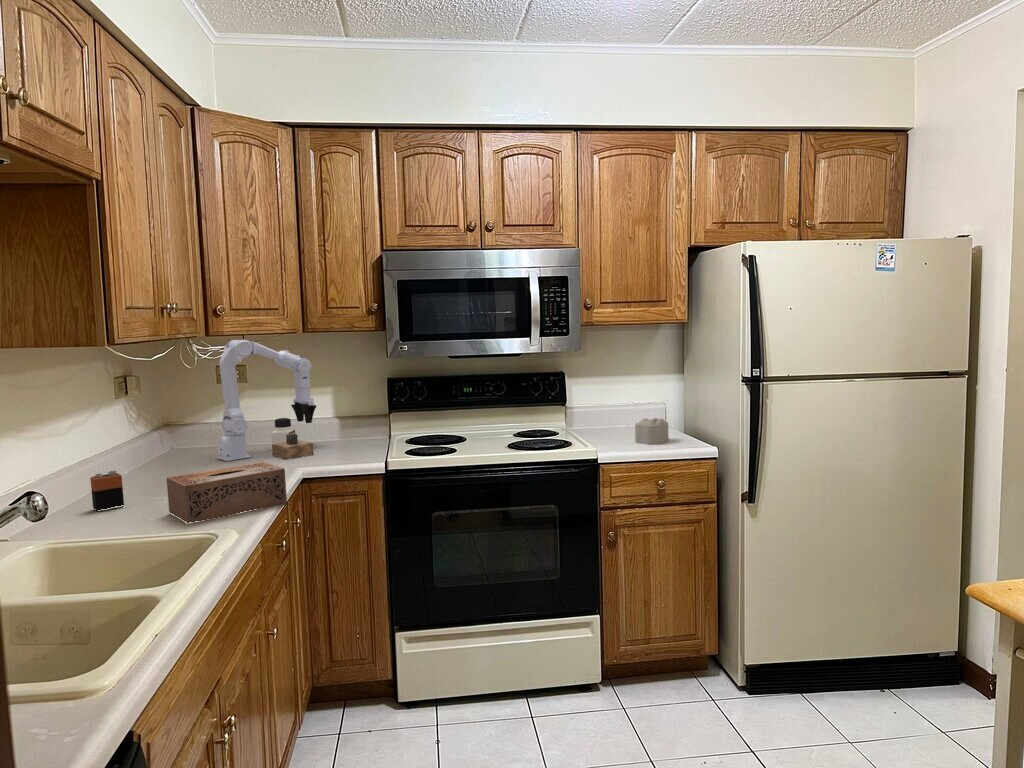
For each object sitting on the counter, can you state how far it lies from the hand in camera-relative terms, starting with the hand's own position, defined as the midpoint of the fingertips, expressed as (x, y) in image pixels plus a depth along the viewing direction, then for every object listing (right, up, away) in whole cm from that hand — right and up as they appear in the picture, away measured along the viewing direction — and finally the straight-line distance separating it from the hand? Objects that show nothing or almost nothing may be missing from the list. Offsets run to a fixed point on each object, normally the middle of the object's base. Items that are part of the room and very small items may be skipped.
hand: (304, 422), depth 278 cm
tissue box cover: (+7, -19, -91) cm, 93 cm away
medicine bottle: (-8, -11, 0) cm, 13 cm away
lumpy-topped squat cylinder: (+136, -7, -13) cm, 137 cm away
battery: (-28, -19, -86) cm, 93 cm away
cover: (0, -12, -16) cm, 20 cm away
